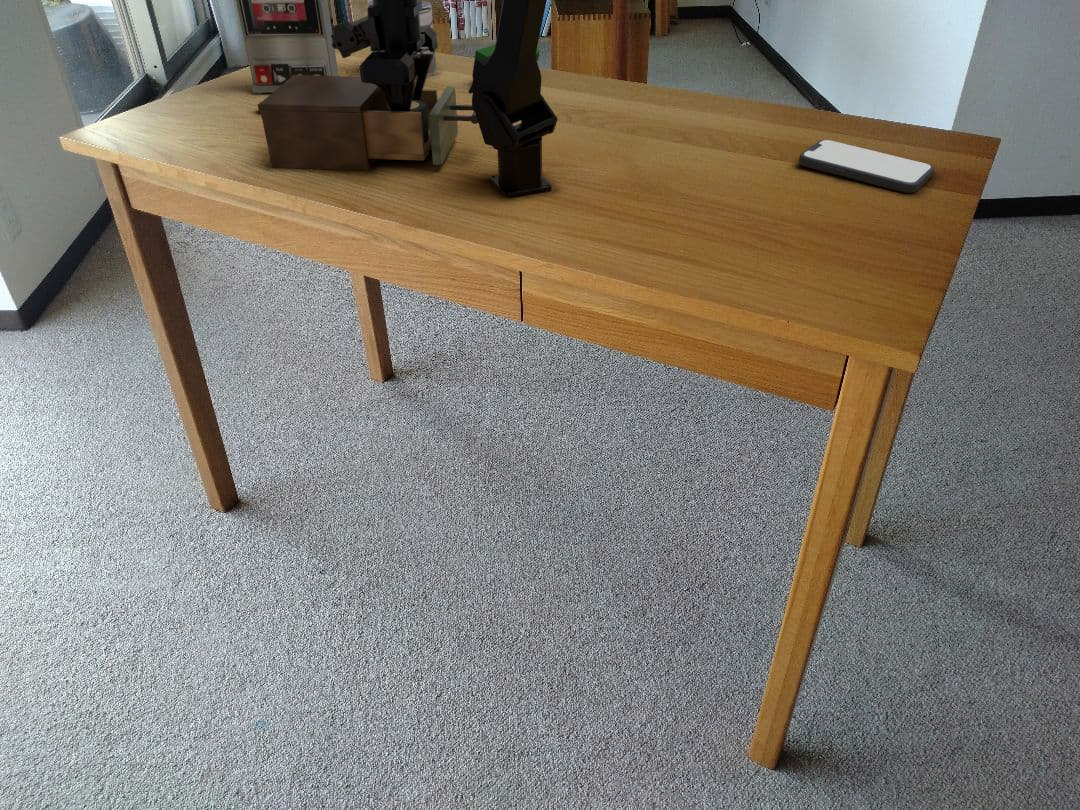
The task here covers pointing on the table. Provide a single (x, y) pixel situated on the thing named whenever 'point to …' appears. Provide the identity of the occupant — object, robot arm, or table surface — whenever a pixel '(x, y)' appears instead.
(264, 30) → the cassette tape recorder
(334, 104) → the cabinet
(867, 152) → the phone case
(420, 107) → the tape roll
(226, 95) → the table surface
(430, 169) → the table surface
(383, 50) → the robot arm
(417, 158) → the drawer
